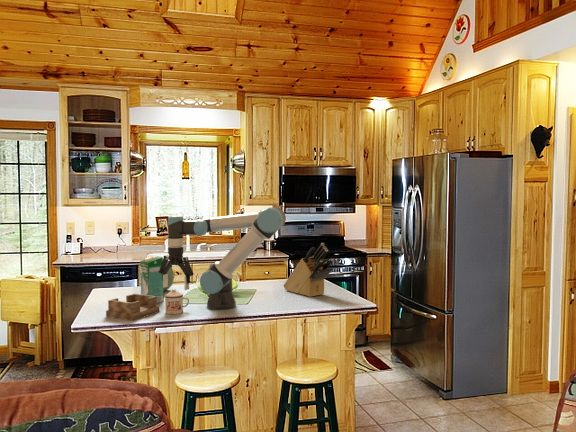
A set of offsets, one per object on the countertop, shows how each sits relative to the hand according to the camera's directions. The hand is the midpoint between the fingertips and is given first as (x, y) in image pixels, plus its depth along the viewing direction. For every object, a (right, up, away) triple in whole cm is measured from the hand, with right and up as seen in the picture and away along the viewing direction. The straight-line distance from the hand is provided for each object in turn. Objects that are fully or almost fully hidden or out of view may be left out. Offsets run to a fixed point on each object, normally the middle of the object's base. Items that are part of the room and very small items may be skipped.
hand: (176, 288), depth 254 cm
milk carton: (-19, -11, +25) cm, 33 cm away
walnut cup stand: (-21, -12, -3) cm, 24 cm away
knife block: (+69, -10, +42) cm, 81 cm away
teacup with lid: (0, -12, +1) cm, 12 cm away
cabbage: (-21, -10, +54) cm, 59 cm away
